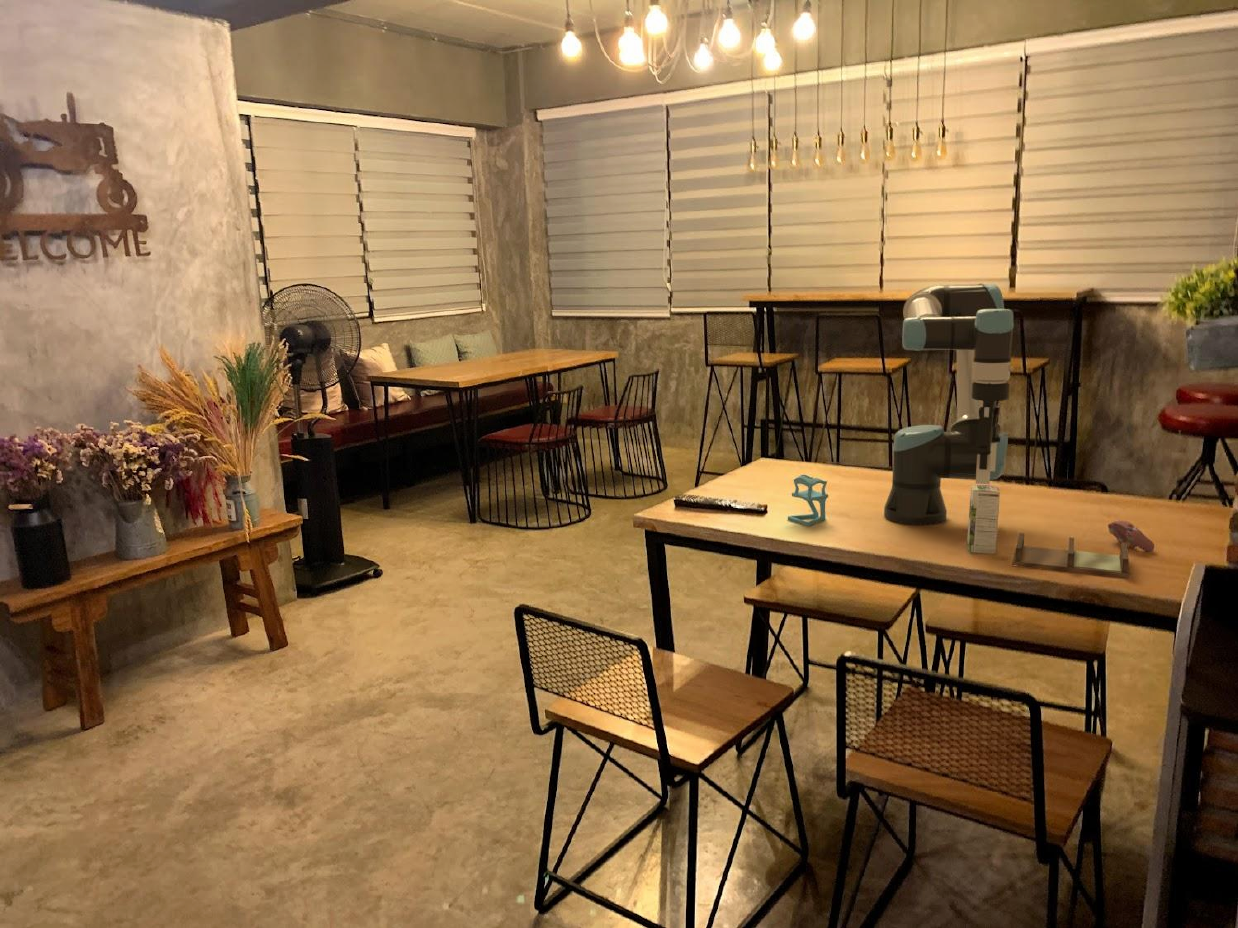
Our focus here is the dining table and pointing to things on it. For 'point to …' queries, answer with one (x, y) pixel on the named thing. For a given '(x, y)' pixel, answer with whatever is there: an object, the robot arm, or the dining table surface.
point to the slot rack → (1072, 560)
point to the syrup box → (983, 519)
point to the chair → (810, 499)
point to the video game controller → (1130, 535)
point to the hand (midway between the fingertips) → (985, 477)
